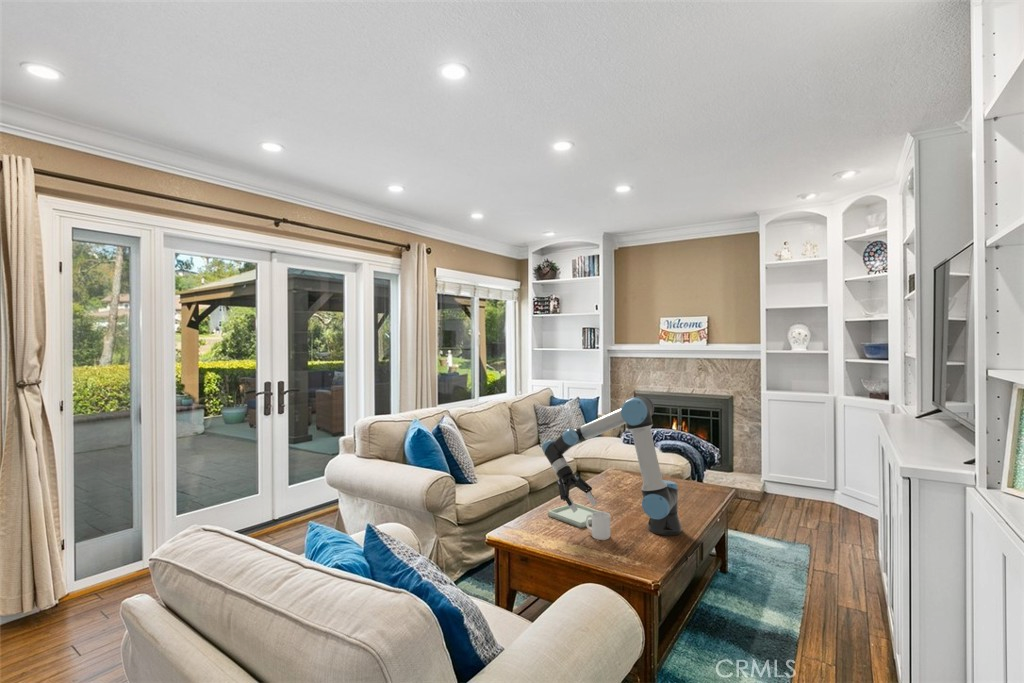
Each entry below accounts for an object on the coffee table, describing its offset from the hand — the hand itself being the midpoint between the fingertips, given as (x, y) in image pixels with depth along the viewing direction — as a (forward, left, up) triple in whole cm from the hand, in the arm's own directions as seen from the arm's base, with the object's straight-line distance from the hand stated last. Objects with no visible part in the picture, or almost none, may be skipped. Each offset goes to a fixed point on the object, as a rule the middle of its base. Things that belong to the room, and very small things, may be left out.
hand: (585, 508), depth 238 cm
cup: (-7, 0, -11) cm, 13 cm away
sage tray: (+15, -11, -11) cm, 22 cm away
